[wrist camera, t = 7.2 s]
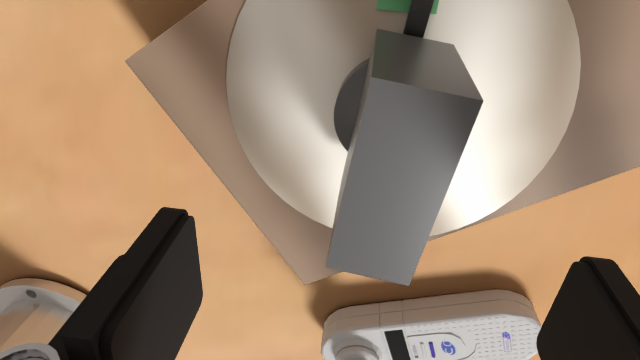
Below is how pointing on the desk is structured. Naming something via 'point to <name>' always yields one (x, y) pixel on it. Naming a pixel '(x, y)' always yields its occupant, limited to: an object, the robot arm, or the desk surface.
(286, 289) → the desk surface
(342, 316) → the electronic device
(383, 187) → the dark grey boxy piece
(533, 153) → the board
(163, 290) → the robot arm
